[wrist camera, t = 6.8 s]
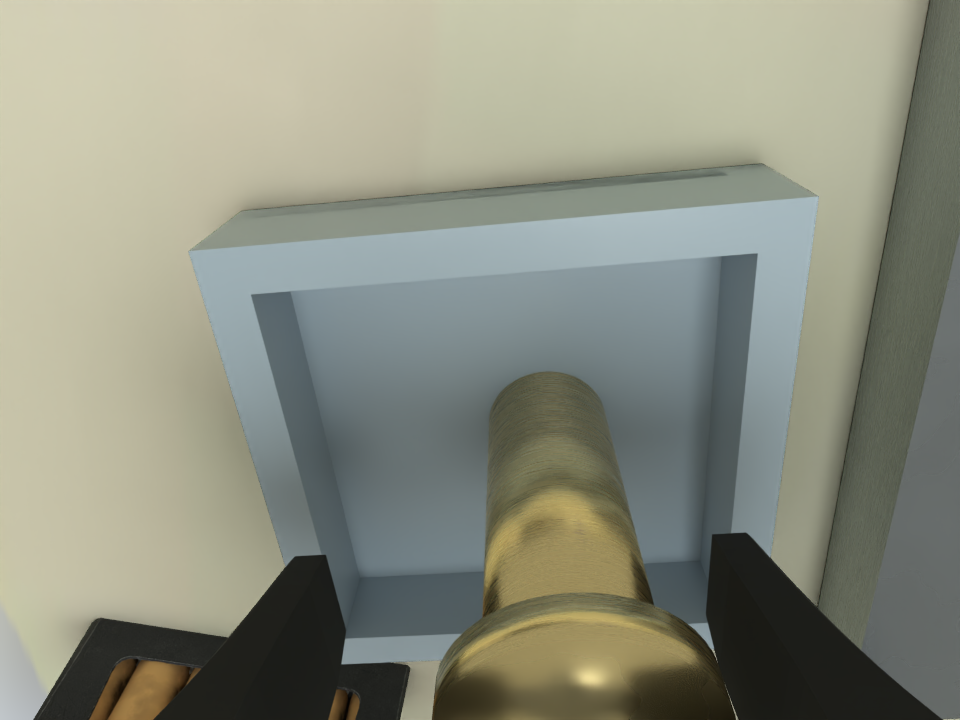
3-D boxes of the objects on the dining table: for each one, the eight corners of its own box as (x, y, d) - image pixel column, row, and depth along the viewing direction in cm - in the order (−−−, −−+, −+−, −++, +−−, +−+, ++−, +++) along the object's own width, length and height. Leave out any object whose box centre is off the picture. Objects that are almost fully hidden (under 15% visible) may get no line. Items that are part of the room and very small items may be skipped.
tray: (725, 564, 20) (758, 647, 18) (339, 583, 21) (315, 664, 19) (762, 163, 15) (819, 196, 12) (241, 210, 16) (188, 251, 13)
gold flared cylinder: (632, 485, 18) (727, 827, 11) (471, 494, 18) (449, 834, 11) (633, 339, 16) (750, 632, 9) (452, 353, 16) (409, 647, 9)
